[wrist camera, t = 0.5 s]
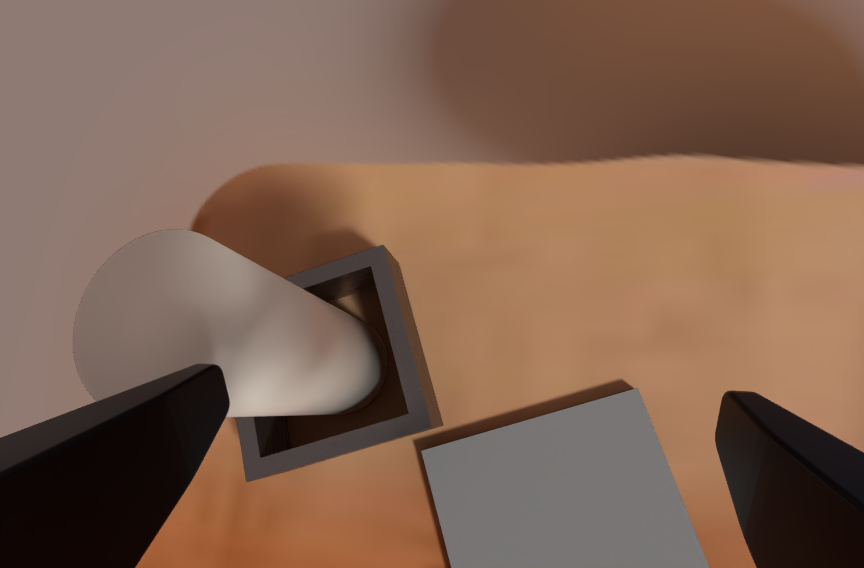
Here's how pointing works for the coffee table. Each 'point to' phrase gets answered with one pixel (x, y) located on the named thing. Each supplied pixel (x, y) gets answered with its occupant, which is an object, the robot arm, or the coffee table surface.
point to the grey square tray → (377, 267)
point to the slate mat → (563, 493)
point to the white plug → (221, 330)
